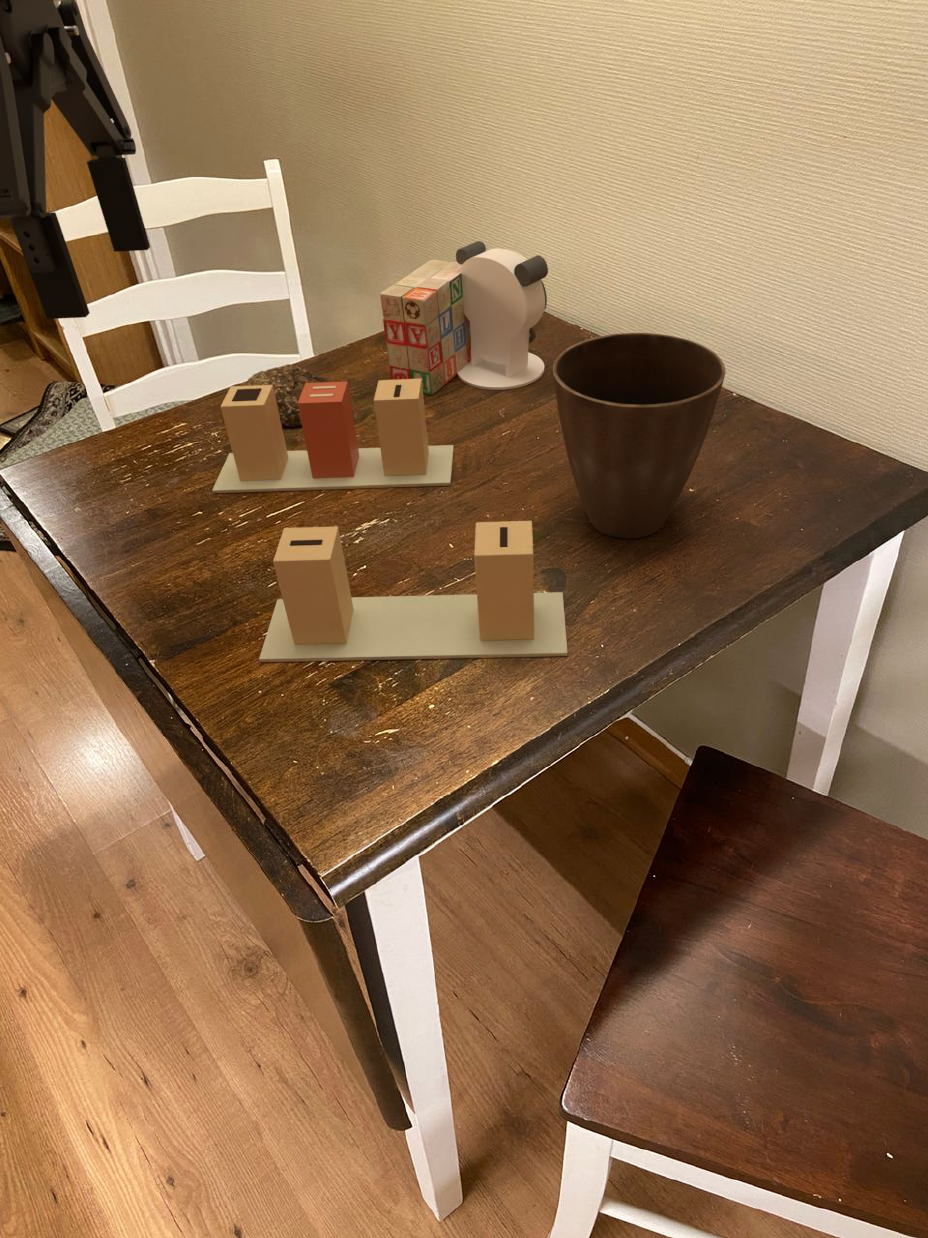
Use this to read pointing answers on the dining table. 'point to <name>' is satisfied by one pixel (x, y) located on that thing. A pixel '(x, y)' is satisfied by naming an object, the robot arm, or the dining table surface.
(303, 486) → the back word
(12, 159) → the robot arm
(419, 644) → the front word
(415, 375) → the stack of blocks
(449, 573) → the dining table surface
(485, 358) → the panda figurine
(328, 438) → the equals sign block
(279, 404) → the bread roll
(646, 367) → the flower pot
